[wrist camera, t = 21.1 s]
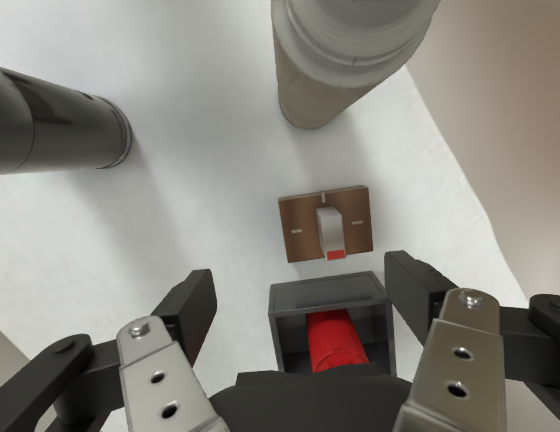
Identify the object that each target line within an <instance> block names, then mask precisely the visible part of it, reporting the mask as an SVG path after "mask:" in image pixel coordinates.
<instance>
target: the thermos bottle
mask: <svg viewBox="0 0 560 432" xmlns="http://www.w3.org/2000/svg"><path fill="white" fill-rule="evenodd" d="M440 1H441V0H271V17H272V29H273V40H274V52H275V63H276V75H277V82H278V98H279V105H280V109H281V111H282V113H283V115H284V117H285V118H286V119H287V120H288V121H289V122H290V123H291V124H292V125H294V126H296V127H298V128H301V129H306V130H308V129H316V128H319V127H321V126H323V125H325V124H326V123H328V122H329V121H330V120H332V119H333V118H334V117H336V116H337V115H338V114H340V113H341V112H342V111H343V110H345V109H346V108H347V107H349V106H350V105H352V104H353V103H354V102H356V101H357V100H359V99H360V98H361V97H363V96H364V95H365V94H367V93H368V92H369V91H371V90H372V89H373V88H375V87H376V86H377V85H379V84H380V83H381V82H383V81H384V80H385V79H387V78H388V77H389V76H391V75H392V74H393V73H395V72H396V71H397V70H399V69H400V68H401V67H402V66H403V65H404V64H405V63H406V62H407V61H408V60H409V59H410V58H411V57H412V55H413V54H414V52H415V51H416V49H417V48H418V47H419V45H420V44H421V42H422V41H423V39H424V36H425V34H426V32H427V30H428V28H429V26H430V23H431V19H432V16H433V13H434V12H435V10H436V9H437V7H438V5H439V3H440Z"/></svg>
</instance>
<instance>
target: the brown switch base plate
mask: <svg viewBox="0 0 560 432" xmlns="http://www.w3.org/2000/svg"><path fill="white" fill-rule="evenodd" d="M278 203H279V209H280V215H281V222H282V228H283V234H284V241H285V247H286V253H287V260H288V263H291V262H298V261H306V260H313V259H320V258H325V256H324V254H323V251H322V249H321V246H320V238H319V231H318V223H317V215H316V209H317V208H323V207H330V206H334V207H335V208H336V209H337V210H338V212H339V213H340V214H341V216H342V225H343V234H344V243H345V252H346V255H349V254H356V253H363V252H370V251H373V242H372V229H371V216H370V203H369V191H368V187H365V186H363V185H362V186H355V187H348V188H342V189H335V190H329V191H322V192H315V193H309V194H302V195H296V196H289V197H282V198H279V200H278Z"/></svg>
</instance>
